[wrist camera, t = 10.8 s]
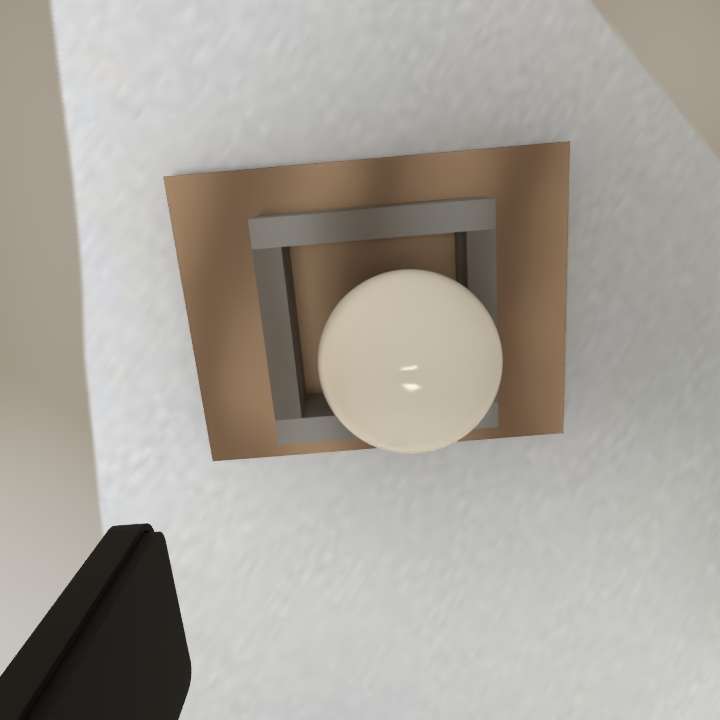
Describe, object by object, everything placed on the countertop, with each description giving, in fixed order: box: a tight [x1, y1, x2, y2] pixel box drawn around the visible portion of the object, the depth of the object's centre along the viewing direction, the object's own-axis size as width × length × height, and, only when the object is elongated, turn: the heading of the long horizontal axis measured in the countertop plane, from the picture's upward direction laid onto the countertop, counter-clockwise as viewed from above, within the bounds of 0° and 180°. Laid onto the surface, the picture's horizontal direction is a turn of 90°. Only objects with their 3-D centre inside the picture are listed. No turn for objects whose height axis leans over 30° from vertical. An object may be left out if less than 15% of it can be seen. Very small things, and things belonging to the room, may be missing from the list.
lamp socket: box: [163, 141, 570, 461], centre depth 27 cm, size 18×14×4 cm
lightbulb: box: [317, 269, 503, 454], centre depth 22 cm, size 6×6×11 cm
